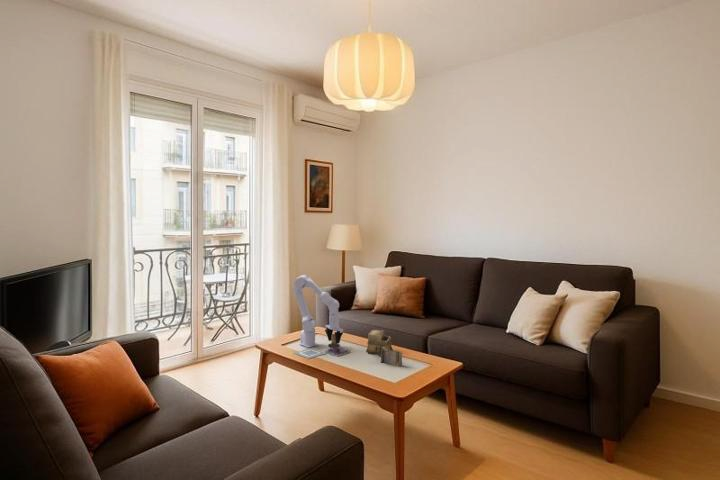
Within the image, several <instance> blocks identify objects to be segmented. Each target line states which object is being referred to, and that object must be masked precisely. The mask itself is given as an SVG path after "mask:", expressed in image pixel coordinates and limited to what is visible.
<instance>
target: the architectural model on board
mask: <svg viewBox="0 0 720 480" xmlns="http://www.w3.org/2000/svg"><path fill="white" fill-rule="evenodd" d="M382 348H383V349H382V350H381V356H380V363H384V364H386V365H392V366H397V367H401V366H402V365H403V361H402V359H403V352H402V351H398V350H395V349H394V350H389V349H386V347H382Z"/></svg>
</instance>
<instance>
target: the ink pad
mask: <svg viewBox="0 0 720 480" xmlns="http://www.w3.org/2000/svg"><path fill="white" fill-rule="evenodd" d="M351 352H352V351H351V350H349V349H346V348H344V347H341V346H340V347H336V348H329V349H326V350H324V353H326V354H328V355H332V356H333V357H340V356H343V355H347V354H350V353H351Z"/></svg>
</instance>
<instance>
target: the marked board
mask: <svg viewBox="0 0 720 480" xmlns="http://www.w3.org/2000/svg"><path fill="white" fill-rule="evenodd" d="M293 354H294V355H297V356H300V357H302V358H305V359H307V360H310V359H314V358H316V357H319V356H324V355H326V354H327V353H325V351H321V350H318V349H316V348H312V347H308V348H306V349H303V350H299V351H295V352H294V353H293Z"/></svg>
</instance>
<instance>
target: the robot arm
mask: <svg viewBox="0 0 720 480" xmlns="http://www.w3.org/2000/svg"><path fill="white" fill-rule="evenodd" d="M292 288H293V289H292V292H293V295H294V298H295V300H296V303H297V306H298V310H299V312H300V315H301V318H302V320H301V323H302V330H301V332H300V334H299V335H300V336H299V341H300V343H299V345H300V346H302V347H306V348H312V347H315V346H318V345H319V344H318V343H316V329H315V327H316V326H317V321H316V320H315V319H314V318H313V316H312V315H311V312H310V310H309V307H308V304H307V302H306V299H305V295H304V293H303V290H304V288H309V289H311V290H312V291H313V292H314V293H316V294H317V295H318V296H319V299H320V301H321V302H322V303H324V304H325V305H326V306H327V309H328V310H329V312H328V315H329V317H328V319H329V320H328V322H329V323H328V324H325V325H324V332H325V334H326V336H327V339H328V342H331V335H332V334H335V336H336V343H338V344H341V343H340V342H341V338H342V336H343V334H344V329H343V328H341V327H340V326H339V314H340V313H339V308H340V303H339V301H338V299H335V298H333V297H332V296H331V295H330V293H329V292H327V291H323V290H322V289H321V288H320V287H319V286H318V285H317V284H316V283H315V281H313V280H312V278H311V277H309V276H308V275H307V274H302V275H300V276H297V277H296V278H295V280H294V281H293V287H292Z"/></svg>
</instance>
